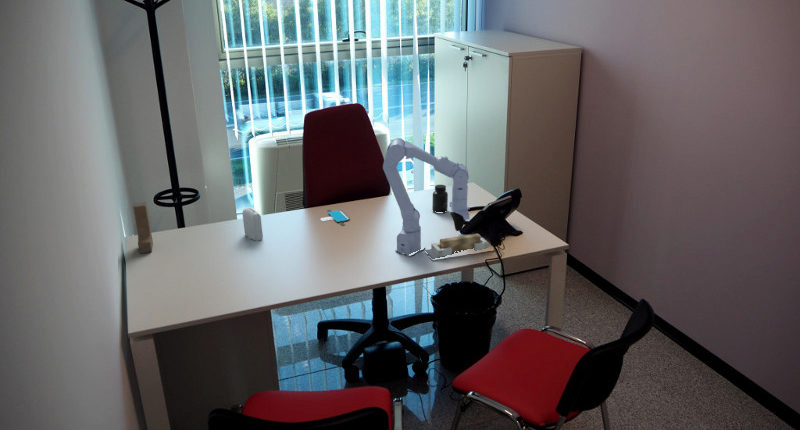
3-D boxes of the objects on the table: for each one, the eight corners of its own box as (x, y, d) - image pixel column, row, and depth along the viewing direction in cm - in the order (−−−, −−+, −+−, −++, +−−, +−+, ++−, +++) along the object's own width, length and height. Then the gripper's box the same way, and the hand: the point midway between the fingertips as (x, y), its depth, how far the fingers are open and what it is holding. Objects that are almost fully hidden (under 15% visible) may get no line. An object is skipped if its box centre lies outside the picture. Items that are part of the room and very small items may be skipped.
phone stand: (314, 213, 288) (314, 210, 287) (339, 209, 293) (339, 206, 292) (328, 229, 271) (328, 225, 270) (355, 224, 276) (354, 221, 275)
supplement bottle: (447, 214, 284) (448, 188, 280) (432, 214, 285) (432, 188, 280) (447, 208, 291) (447, 183, 286) (432, 208, 291) (432, 183, 287)
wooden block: (151, 252, 250) (144, 209, 243) (139, 254, 249) (131, 211, 242) (153, 243, 258) (146, 201, 251) (141, 244, 257) (133, 203, 250)
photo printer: (243, 234, 266) (240, 206, 261) (252, 231, 268) (249, 204, 264) (255, 242, 258) (252, 213, 254) (264, 239, 261) (261, 211, 256)
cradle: (432, 261, 241) (432, 252, 239) (424, 252, 248) (424, 244, 246) (494, 250, 248) (495, 242, 247) (485, 242, 255) (485, 234, 254)
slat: (442, 253, 244) (442, 241, 242) (439, 251, 246) (439, 239, 244) (480, 247, 249) (480, 235, 247) (477, 245, 251) (477, 233, 249)
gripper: (477, 202, 236) (476, 236, 241) (461, 189, 248) (460, 222, 253) (459, 204, 234) (458, 238, 239) (444, 191, 246) (444, 224, 251)
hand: (458, 230), depth 246 cm, fingers closed
